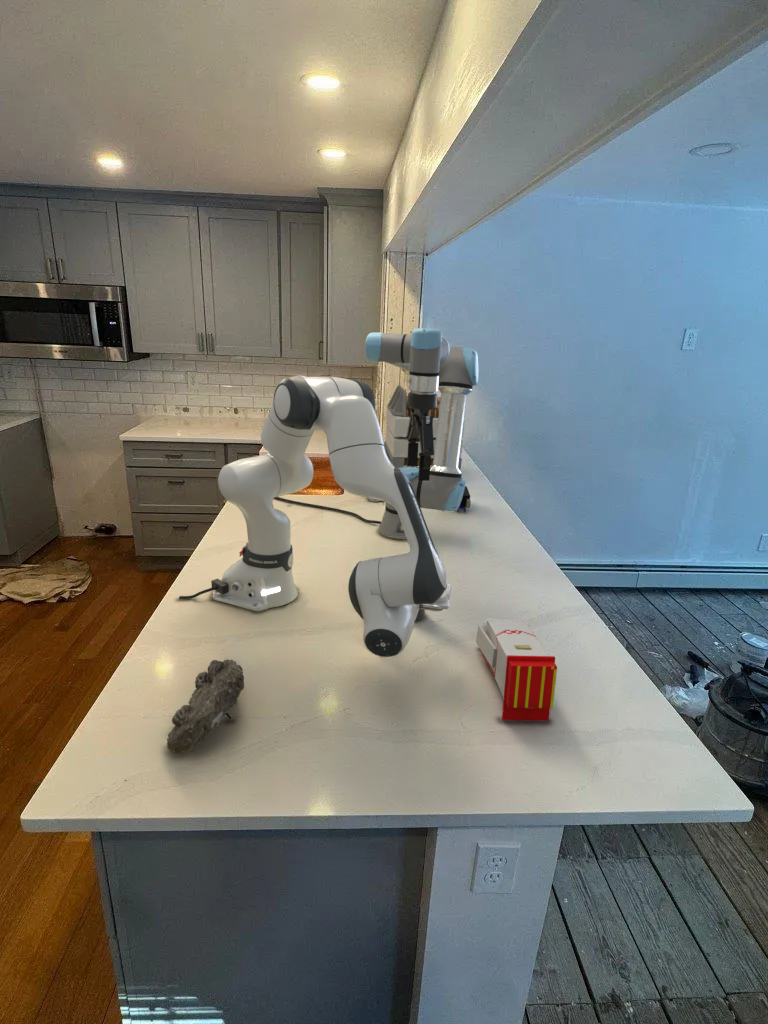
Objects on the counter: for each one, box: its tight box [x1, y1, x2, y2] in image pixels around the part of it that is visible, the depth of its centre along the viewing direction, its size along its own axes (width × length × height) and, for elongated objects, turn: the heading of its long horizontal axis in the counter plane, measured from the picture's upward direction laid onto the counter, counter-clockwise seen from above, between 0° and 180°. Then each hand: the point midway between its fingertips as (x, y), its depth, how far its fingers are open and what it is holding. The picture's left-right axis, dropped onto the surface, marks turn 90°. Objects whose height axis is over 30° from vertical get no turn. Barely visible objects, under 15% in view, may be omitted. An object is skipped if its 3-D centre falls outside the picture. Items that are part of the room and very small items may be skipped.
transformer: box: [384, 384, 465, 472], centre depth 268 cm, size 34×33×41 cm
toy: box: [475, 618, 558, 722], centre depth 122 cm, size 12×13×30 cm
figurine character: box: [456, 485, 472, 513], centre depth 228 cm, size 7×8×15 cm
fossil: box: [166, 658, 245, 754], centre depth 106 cm, size 22×10×15 cm
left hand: (409, 574), depth 131 cm, fingers open, 8 cm apart
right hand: (417, 473), depth 151 cm, fingers open, 13 cm apart
